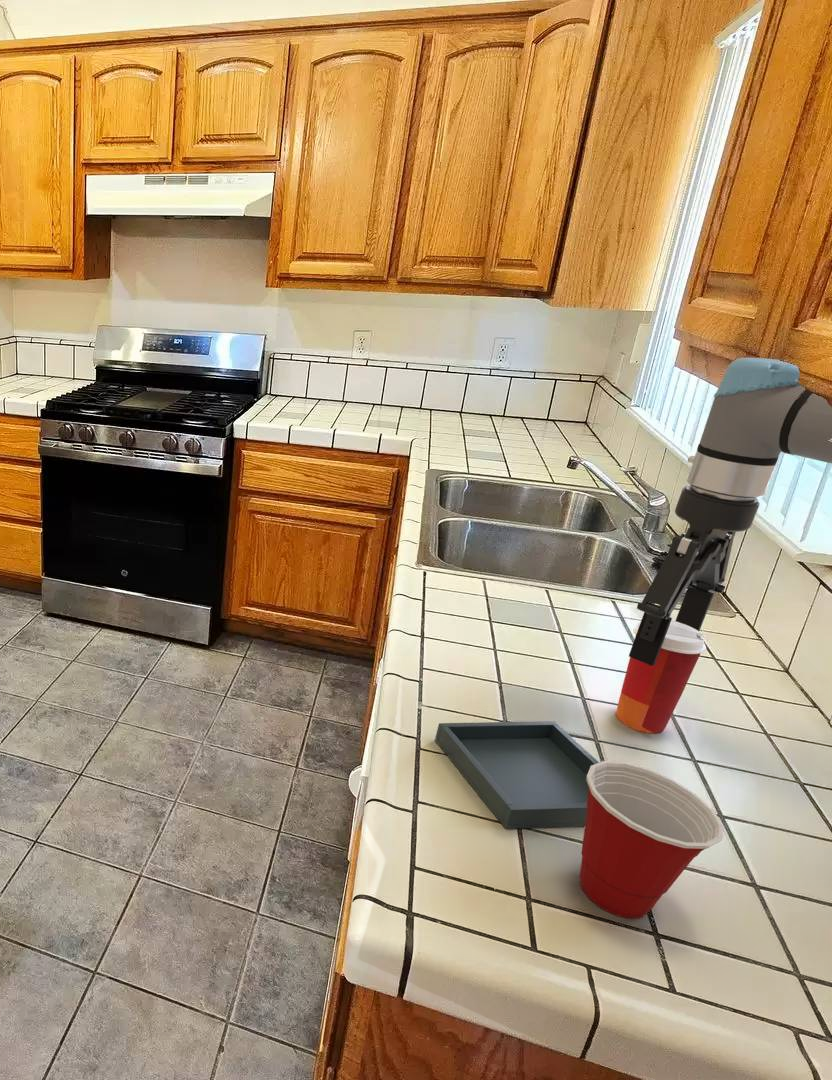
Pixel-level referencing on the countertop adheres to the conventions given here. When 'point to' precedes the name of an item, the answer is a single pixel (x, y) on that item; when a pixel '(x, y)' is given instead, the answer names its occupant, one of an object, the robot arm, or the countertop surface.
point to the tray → (522, 770)
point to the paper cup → (659, 680)
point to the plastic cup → (639, 836)
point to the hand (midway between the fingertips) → (663, 646)
